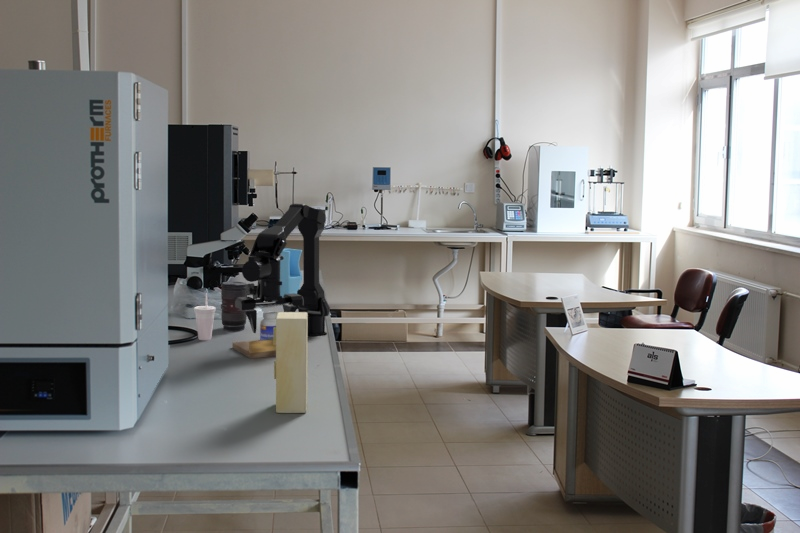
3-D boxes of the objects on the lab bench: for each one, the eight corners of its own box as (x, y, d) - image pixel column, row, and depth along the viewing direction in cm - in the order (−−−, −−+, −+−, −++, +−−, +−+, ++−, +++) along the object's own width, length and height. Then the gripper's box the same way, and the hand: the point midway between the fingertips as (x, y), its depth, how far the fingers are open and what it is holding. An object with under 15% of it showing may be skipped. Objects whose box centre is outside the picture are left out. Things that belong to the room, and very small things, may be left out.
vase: (288, 304, 302) (288, 251, 299) (272, 301, 306) (273, 249, 304) (301, 301, 309) (302, 250, 306) (286, 298, 313) (286, 248, 310)
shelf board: (280, 342, 239) (280, 327, 238) (300, 352, 227) (300, 337, 226) (232, 347, 231) (232, 332, 230) (250, 358, 219) (250, 342, 218)
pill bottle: (257, 347, 224) (257, 313, 223) (264, 343, 230) (264, 310, 228) (275, 348, 223) (275, 314, 222) (282, 344, 229) (282, 311, 227)
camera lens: (244, 332, 252) (244, 285, 250) (218, 331, 252) (218, 284, 250) (249, 326, 260) (249, 281, 258) (224, 325, 260) (224, 280, 258)
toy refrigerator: (274, 402, 180) (275, 311, 178) (307, 402, 181) (308, 311, 178) (271, 413, 172) (272, 318, 170) (306, 413, 173) (307, 318, 170)
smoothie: (210, 342, 237) (210, 295, 235) (190, 340, 238) (189, 294, 236) (219, 337, 243) (219, 292, 241) (199, 336, 244) (199, 291, 242)
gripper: (288, 271, 236) (288, 323, 238) (228, 275, 226) (228, 328, 228) (304, 276, 226) (304, 330, 228) (242, 280, 216) (242, 336, 218)
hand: (269, 331), depth 226 cm, fingers open, 9 cm apart
